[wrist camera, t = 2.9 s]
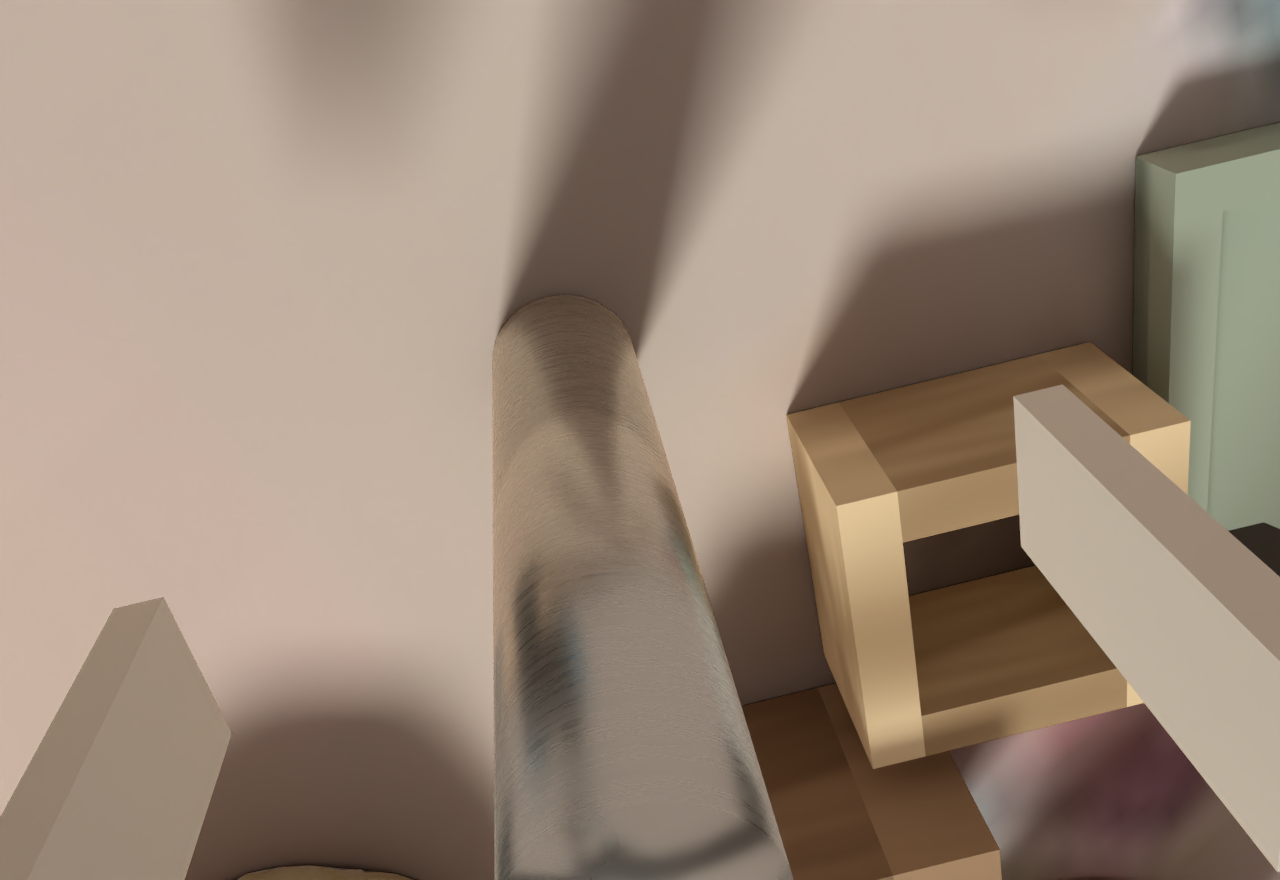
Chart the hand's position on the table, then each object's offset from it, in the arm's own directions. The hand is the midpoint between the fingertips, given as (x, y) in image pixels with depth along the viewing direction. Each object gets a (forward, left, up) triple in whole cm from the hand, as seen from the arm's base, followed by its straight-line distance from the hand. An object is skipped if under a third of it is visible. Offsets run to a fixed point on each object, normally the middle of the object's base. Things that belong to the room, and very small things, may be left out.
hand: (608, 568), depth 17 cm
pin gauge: (0, 0, -7) cm, 7 cm away
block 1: (+6, +8, -7) cm, 12 cm away
